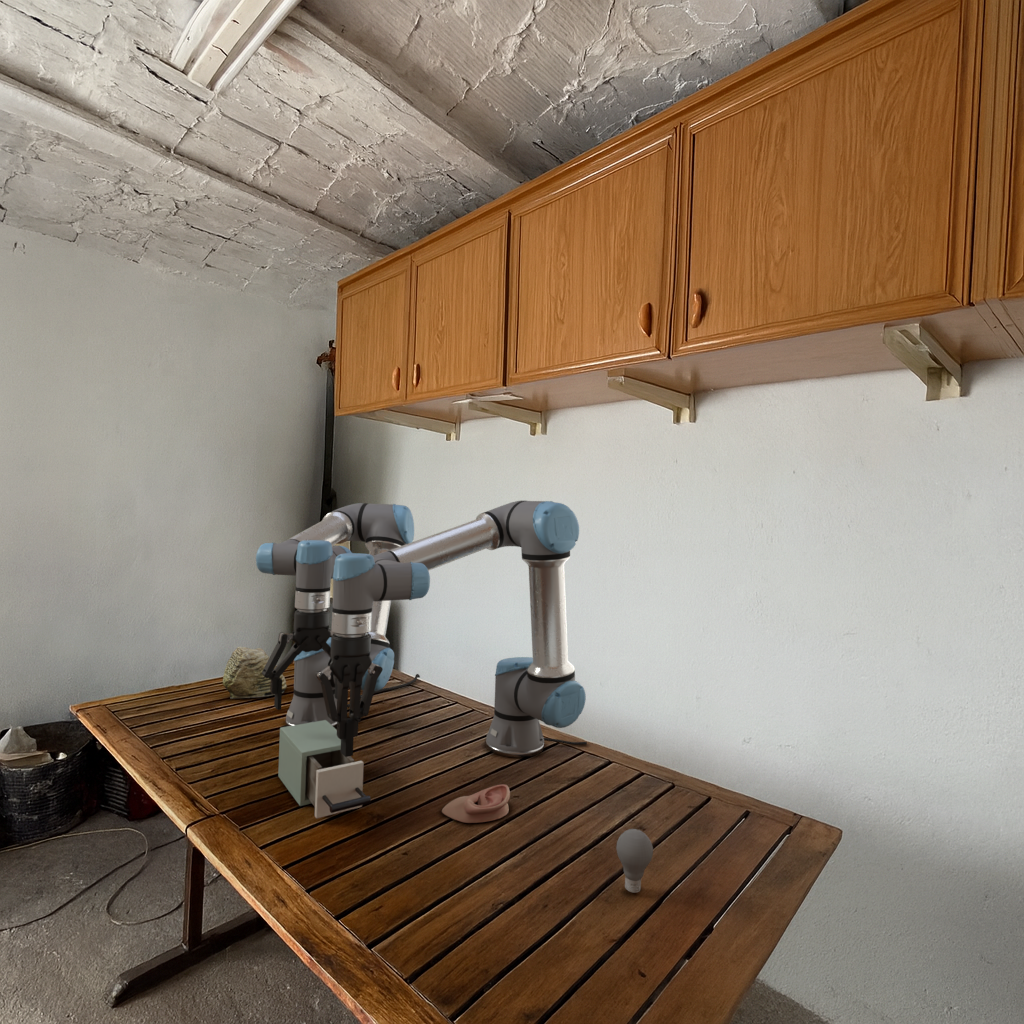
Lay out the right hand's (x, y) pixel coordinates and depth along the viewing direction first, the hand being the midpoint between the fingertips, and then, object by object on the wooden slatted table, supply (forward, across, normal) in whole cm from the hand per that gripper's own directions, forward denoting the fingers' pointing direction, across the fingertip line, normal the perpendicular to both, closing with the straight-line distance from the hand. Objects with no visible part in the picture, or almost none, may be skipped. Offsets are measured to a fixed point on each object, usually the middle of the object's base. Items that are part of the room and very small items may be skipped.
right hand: (346, 753), depth 123 cm
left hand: (-3, 0, +24) cm, 24 cm away
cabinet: (+14, 0, +19) cm, 23 cm away
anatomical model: (+14, +25, -9) cm, 30 cm away
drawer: (+13, 0, +7) cm, 14 cm away
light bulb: (+14, +33, -45) cm, 58 cm away
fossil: (+14, +4, +88) cm, 90 cm away
